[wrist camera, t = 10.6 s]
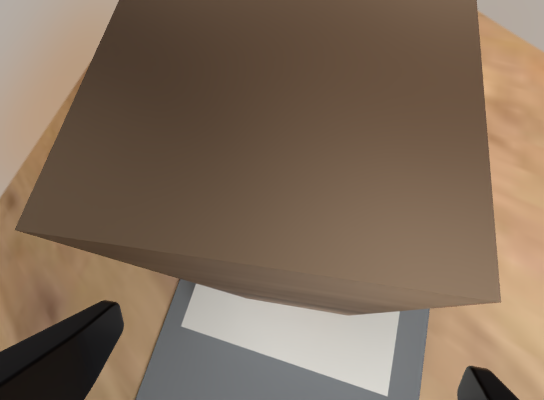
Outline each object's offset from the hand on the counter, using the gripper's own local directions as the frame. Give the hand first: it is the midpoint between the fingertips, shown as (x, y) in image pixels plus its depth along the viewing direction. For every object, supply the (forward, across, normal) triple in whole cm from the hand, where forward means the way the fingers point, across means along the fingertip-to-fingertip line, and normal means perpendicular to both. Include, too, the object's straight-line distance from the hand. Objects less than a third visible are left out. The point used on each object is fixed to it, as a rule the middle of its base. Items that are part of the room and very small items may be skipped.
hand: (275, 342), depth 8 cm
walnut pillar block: (+8, 0, +2) cm, 8 cm away
